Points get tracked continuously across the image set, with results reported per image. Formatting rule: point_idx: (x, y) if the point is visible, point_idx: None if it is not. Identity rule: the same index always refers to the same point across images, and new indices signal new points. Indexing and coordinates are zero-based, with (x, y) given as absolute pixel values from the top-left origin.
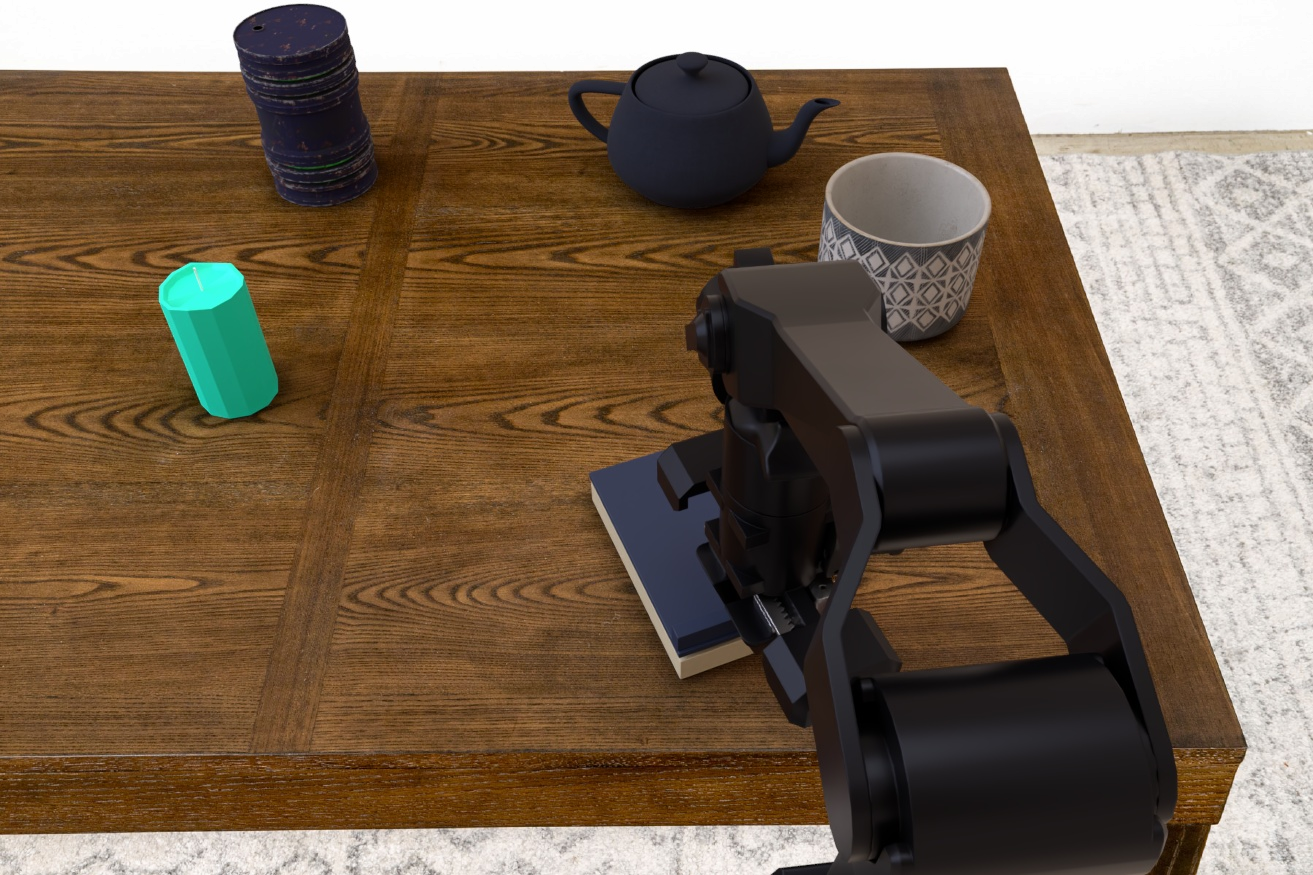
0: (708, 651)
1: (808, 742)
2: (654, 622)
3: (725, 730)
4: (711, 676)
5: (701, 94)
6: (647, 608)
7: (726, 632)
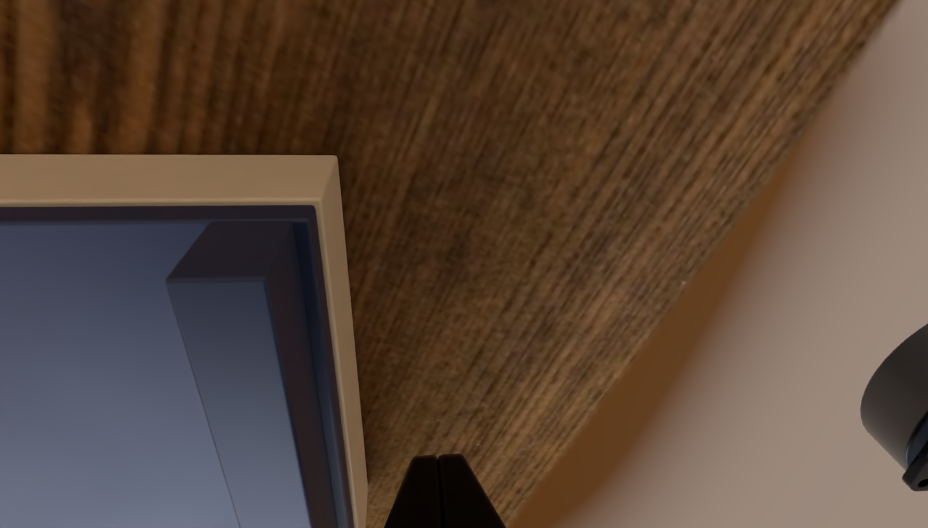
0: (355, 515)
1: (662, 312)
2: None
3: (530, 447)
4: (384, 434)
5: None
6: None
7: (334, 526)
